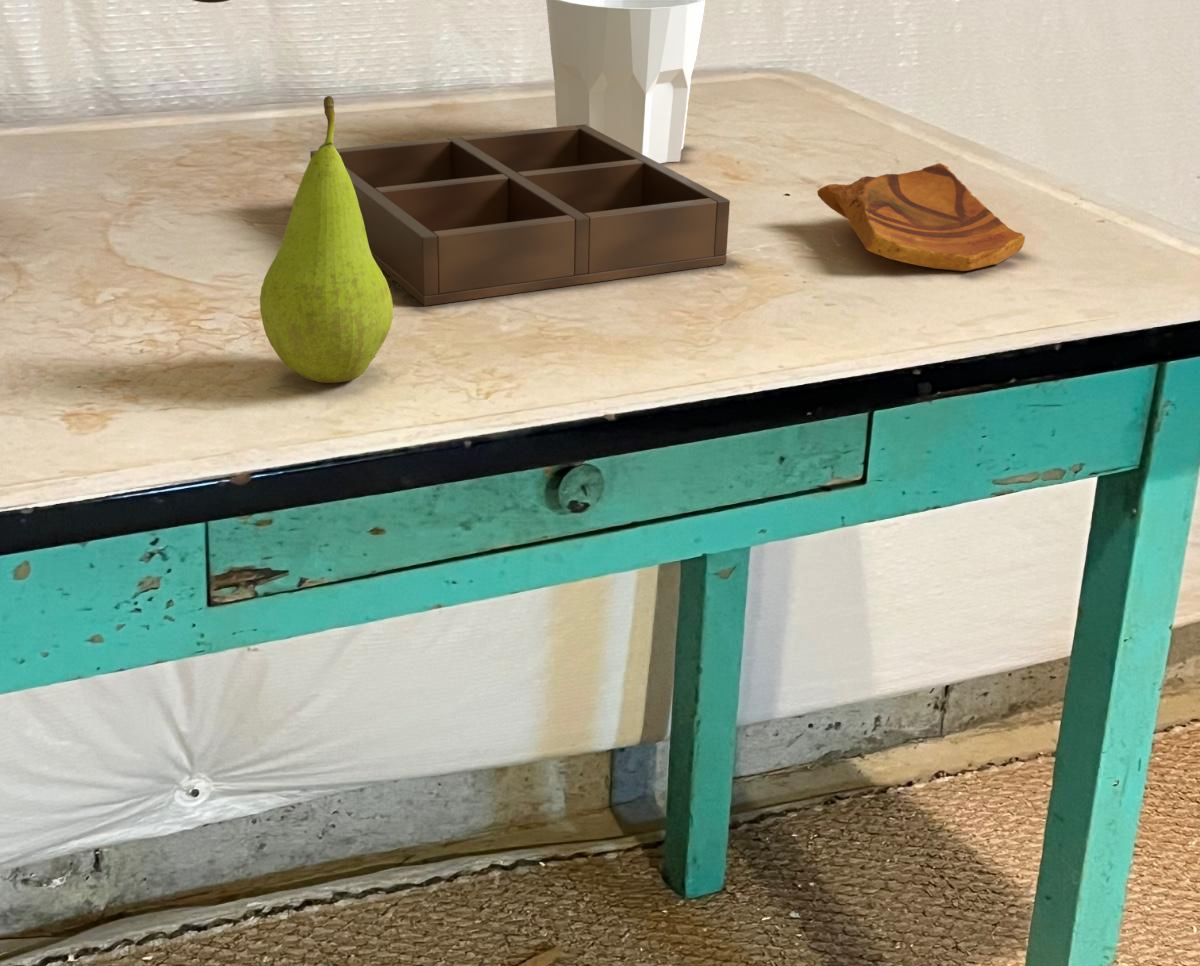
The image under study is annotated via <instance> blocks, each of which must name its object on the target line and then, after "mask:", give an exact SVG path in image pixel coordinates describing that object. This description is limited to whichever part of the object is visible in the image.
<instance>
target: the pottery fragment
mask: <svg viewBox="0 0 1200 966" xmlns="http://www.w3.org/2000/svg"><path fill="white" fill-rule="evenodd" d="M816 193H817V197H818V198H819V199H820V200H821V201H822V202H823V203H824V204H825V205H826V206H828V207H829V208H830V209H831V210H833V211H835V212H836V213H837V214H839V215H840V216H842V217H844V218H845V219H847V221H848V222H849V225H850V226H851V228H852V229H853V231H854V232H855V234H856V235H857V237H858V238H859V240H860V241H861V243H862V245H863V246H864V248H865V249H866V251H868V252H871V253H873V254H875V255H878V256H881V257H884V258H887V259H890V260H893V261H898V262H900V263H901V262H902V263H905V264H910V265H915V266H919V267H926V268H931V269H938V270H950V271H958V272H959V271H960V272H967V271H972V270H976V269H981V268H985V267H988V266H992V265H998V264H1001V262H1003V261H1006V260H1007V259H1009V258H1011V257H1012V256H1014V255H1015V254H1017V253H1018V252H1020V250H1021V249H1022V248H1023V246H1024V244H1025V241H1026V235H1024V233H1022V232H1018V231H1015V230H1013V229H1012V228H1010V227H1009V226H1008V225H1006V224H1005V223H1004V222H1003V221H1001V219H1000V218H999V217H998V216H996V215H994V213H993V212H992V210H990V209H989V208H987V207H986V206H985V204H983V203H982V201H980V200H979V199H978V198H977V196H974V195H973V194H972V192H971V191H970V190H969V189H968V188H967V186H966V185H965V184H964V183H963V182H962V180H960V179H958V177H957V176H956V175H955V174H954V173H953V172H952V171H951V169H949V166H947V165H945V164H943V163H941V162H938V163H936V164H931V165H929V166H925V167H923V168H922V169H919V170H913V171H909V172H904V173H903V172H902V173H899V174H898V173H885V174H882V175H879V176H870V175H866V176H862V177H860V178H859V179H858V180H855V181H853V182H852V183H849V184H838V183H831V184H827V185H824V186H823V187H820V188H819V189H818V190H817V192H816Z"/></svg>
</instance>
